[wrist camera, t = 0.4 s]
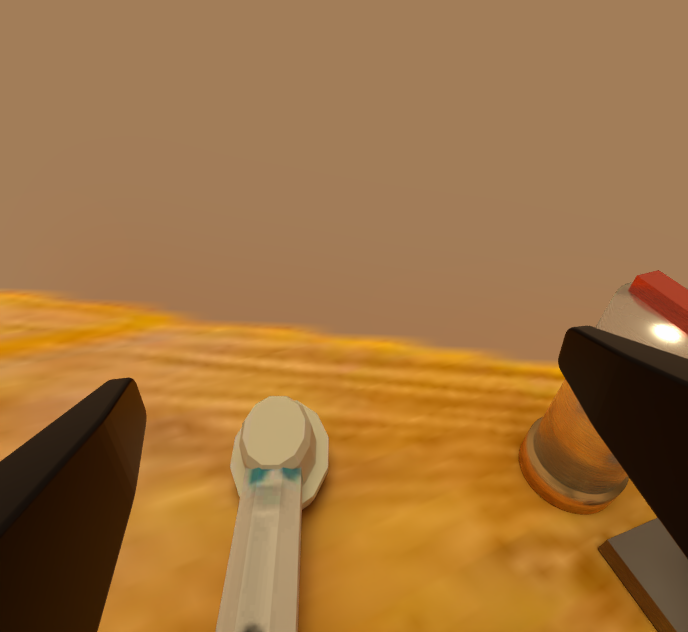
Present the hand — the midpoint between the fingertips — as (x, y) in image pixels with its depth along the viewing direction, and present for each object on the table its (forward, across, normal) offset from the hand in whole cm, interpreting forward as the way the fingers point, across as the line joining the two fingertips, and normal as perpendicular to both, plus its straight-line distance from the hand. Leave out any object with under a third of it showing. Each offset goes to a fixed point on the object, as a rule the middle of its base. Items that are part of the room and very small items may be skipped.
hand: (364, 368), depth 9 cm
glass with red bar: (+8, -14, +16) cm, 23 cm away
